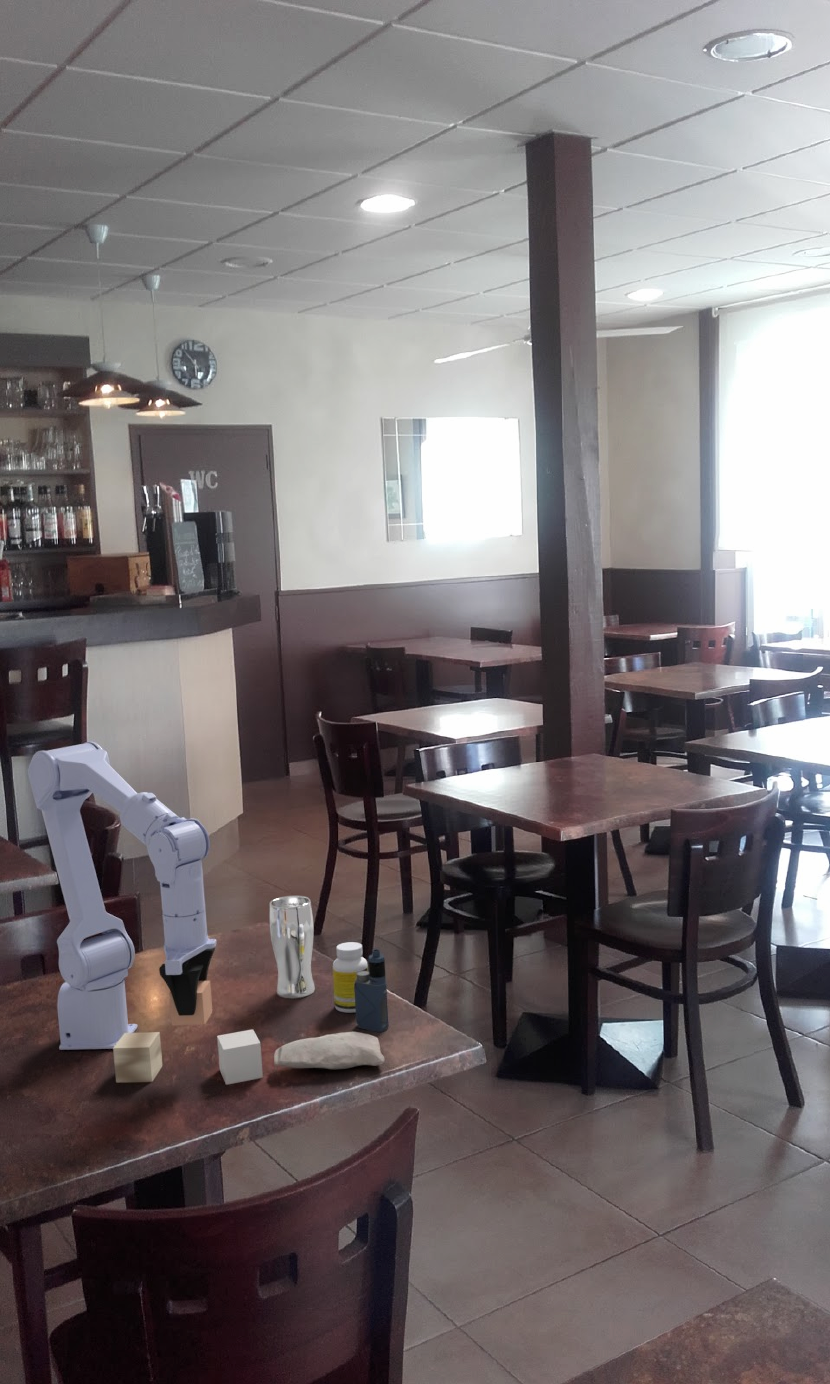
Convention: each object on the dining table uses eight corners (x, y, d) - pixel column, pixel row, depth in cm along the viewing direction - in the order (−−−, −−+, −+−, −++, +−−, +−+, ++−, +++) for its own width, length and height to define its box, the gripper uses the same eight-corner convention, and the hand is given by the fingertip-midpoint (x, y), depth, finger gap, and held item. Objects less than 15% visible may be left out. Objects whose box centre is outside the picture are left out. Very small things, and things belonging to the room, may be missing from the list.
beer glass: (326, 987, 192) (320, 898, 190) (299, 1002, 186) (293, 910, 184) (292, 981, 196) (286, 893, 194) (265, 995, 190) (259, 905, 188)
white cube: (226, 1085, 159) (223, 1049, 158) (219, 1070, 164) (217, 1035, 163) (262, 1078, 160) (260, 1043, 160) (255, 1063, 165) (253, 1029, 165)
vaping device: (382, 1033, 173) (378, 954, 171) (353, 1027, 176) (348, 949, 174) (392, 1027, 175) (388, 948, 173) (363, 1021, 178) (358, 944, 176)
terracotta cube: (171, 1025, 160) (169, 993, 159) (180, 1012, 164) (178, 981, 164) (204, 1025, 160) (202, 992, 159) (212, 1011, 164) (210, 980, 164)
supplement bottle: (365, 1014, 180) (361, 952, 179) (330, 1013, 181) (326, 951, 180) (373, 1001, 186) (370, 940, 184) (340, 1000, 187) (336, 940, 185)
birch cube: (116, 1083, 161) (113, 1048, 161) (127, 1067, 166) (124, 1033, 166) (152, 1082, 161) (149, 1047, 160) (162, 1066, 166) (159, 1032, 165)
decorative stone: (387, 1043, 160) (275, 1059, 157) (388, 1073, 160) (278, 1090, 157) (373, 1015, 169) (268, 1029, 166) (375, 1043, 170) (270, 1058, 167)
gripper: (199, 927, 153) (207, 1028, 154) (225, 894, 167) (231, 986, 169) (146, 928, 153) (154, 1029, 155) (175, 895, 168) (183, 987, 169)
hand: (191, 1007), depth 162 cm, fingers closed on terracotta cube, 4 cm apart
